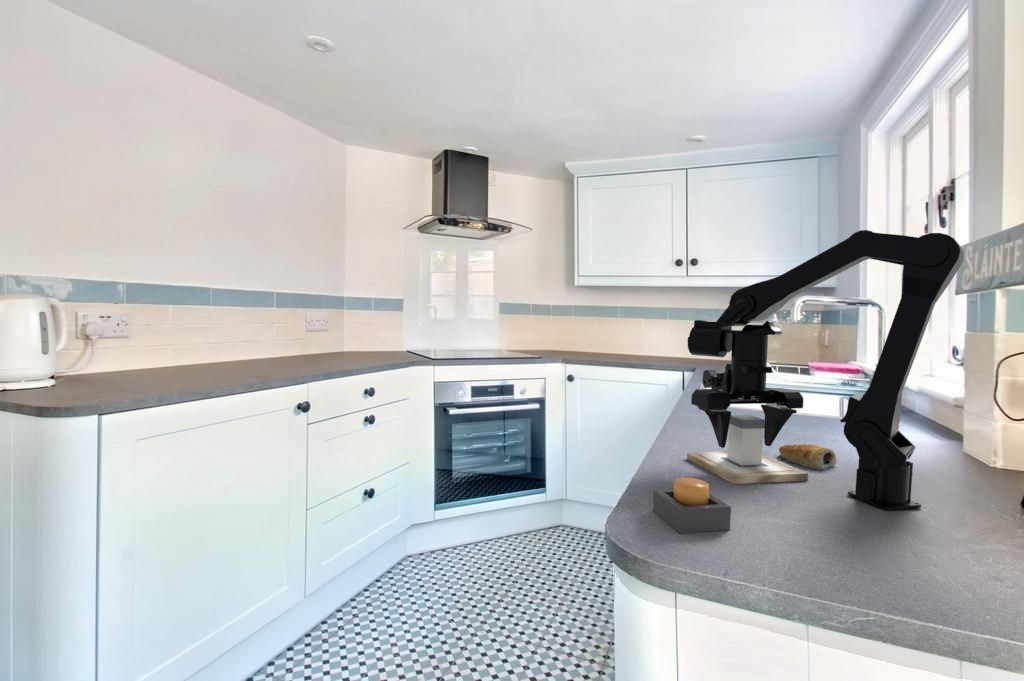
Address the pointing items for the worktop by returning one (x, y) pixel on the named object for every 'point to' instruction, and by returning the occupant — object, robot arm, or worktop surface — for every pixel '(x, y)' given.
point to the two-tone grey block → (745, 439)
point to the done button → (691, 492)
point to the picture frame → (746, 469)
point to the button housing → (691, 513)
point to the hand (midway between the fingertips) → (744, 446)
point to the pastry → (809, 455)
